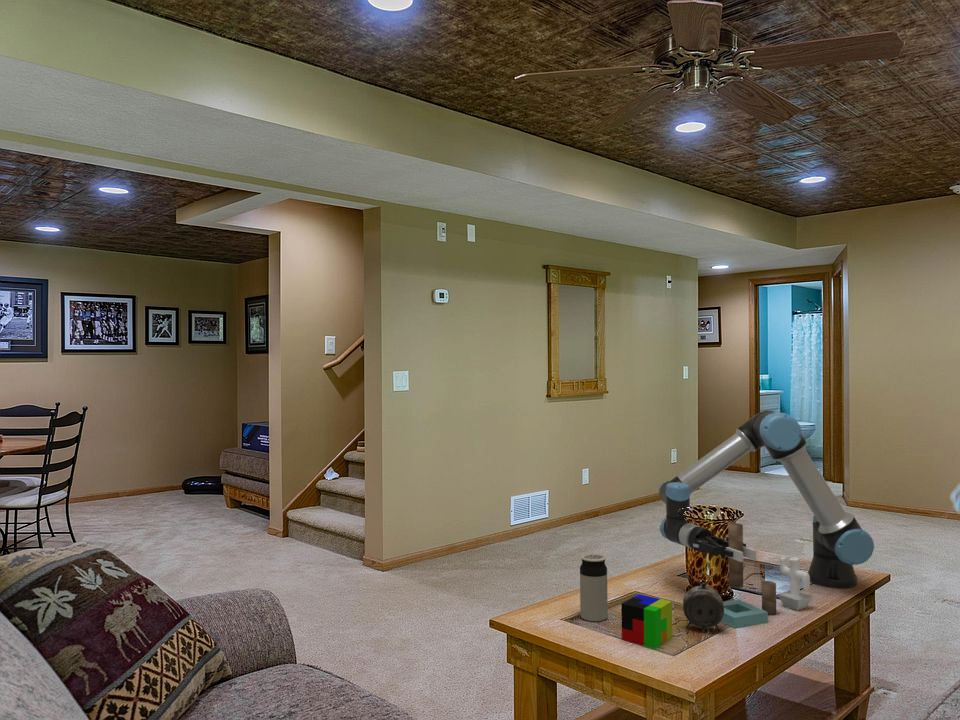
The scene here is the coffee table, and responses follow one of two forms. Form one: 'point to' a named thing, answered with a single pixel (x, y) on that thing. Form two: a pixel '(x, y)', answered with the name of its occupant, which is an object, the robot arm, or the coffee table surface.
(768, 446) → the robot arm
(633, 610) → the puzzle toy
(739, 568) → the long dowel
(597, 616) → the travel mug
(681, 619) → the coffee table surface
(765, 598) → the short dowel
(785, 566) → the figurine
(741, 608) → the teal square frame
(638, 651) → the coffee table surface
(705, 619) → the alarm clock
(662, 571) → the coffee table surface
